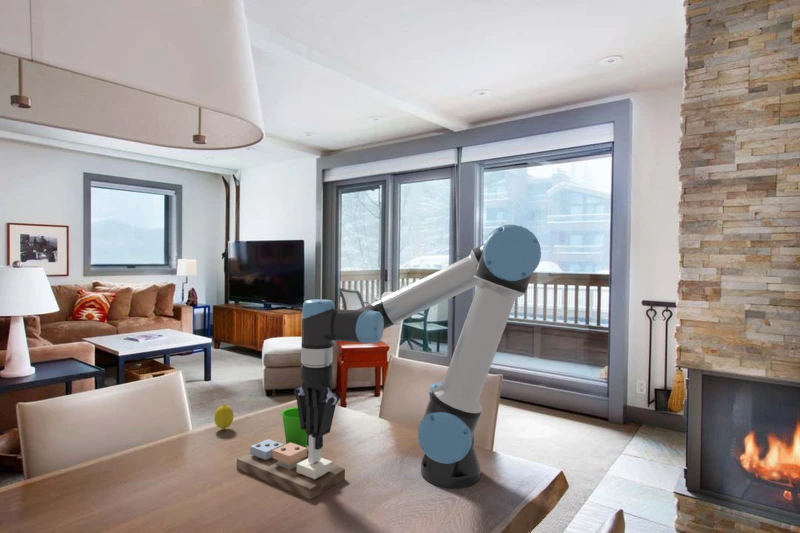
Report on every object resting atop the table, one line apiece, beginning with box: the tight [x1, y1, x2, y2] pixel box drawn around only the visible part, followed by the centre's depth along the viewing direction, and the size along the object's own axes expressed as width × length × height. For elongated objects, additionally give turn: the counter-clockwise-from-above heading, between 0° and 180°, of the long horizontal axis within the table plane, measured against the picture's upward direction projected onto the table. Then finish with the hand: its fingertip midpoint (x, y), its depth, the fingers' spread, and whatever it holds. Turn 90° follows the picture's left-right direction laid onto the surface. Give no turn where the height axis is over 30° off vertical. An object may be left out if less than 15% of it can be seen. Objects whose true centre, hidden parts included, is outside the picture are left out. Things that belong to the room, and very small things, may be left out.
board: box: [236, 452, 346, 501], centre depth 115 cm, size 26×12×2 cm, turn 57°
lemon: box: [214, 403, 234, 431], centre depth 142 cm, size 6×6×8 cm
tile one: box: [297, 457, 333, 480], centre depth 110 cm, size 6×6×5 cm
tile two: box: [273, 442, 308, 470], centre depth 115 cm, size 6×6×5 cm
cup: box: [280, 406, 308, 449], centre depth 128 cm, size 9×9×11 cm
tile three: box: [249, 438, 285, 461], centre depth 119 cm, size 6×6×5 cm
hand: (314, 460), depth 110 cm, fingers closed
